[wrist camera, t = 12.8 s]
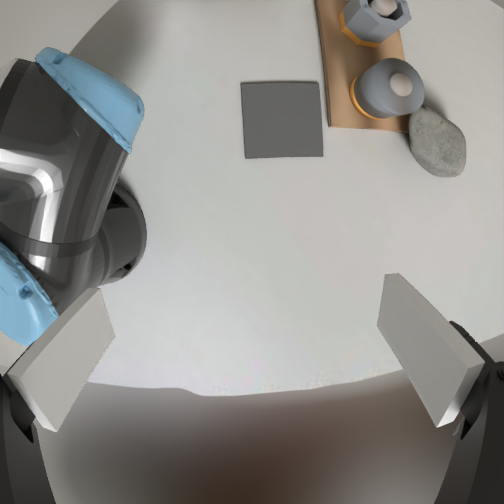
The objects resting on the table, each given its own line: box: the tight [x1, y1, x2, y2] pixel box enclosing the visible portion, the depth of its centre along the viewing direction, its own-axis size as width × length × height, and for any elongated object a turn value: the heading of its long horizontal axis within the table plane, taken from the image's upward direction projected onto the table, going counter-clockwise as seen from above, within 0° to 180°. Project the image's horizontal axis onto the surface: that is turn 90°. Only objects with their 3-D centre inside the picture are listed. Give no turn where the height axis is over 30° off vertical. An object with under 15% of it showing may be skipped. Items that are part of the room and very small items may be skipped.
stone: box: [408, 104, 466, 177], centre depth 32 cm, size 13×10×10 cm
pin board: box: [315, 0, 425, 133], centre depth 26 cm, size 12×20×10 cm, turn 3°
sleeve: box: [339, 0, 411, 47], centre depth 24 cm, size 7×7×8 cm
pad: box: [241, 83, 323, 159], centre depth 34 cm, size 10×10×1 cm
